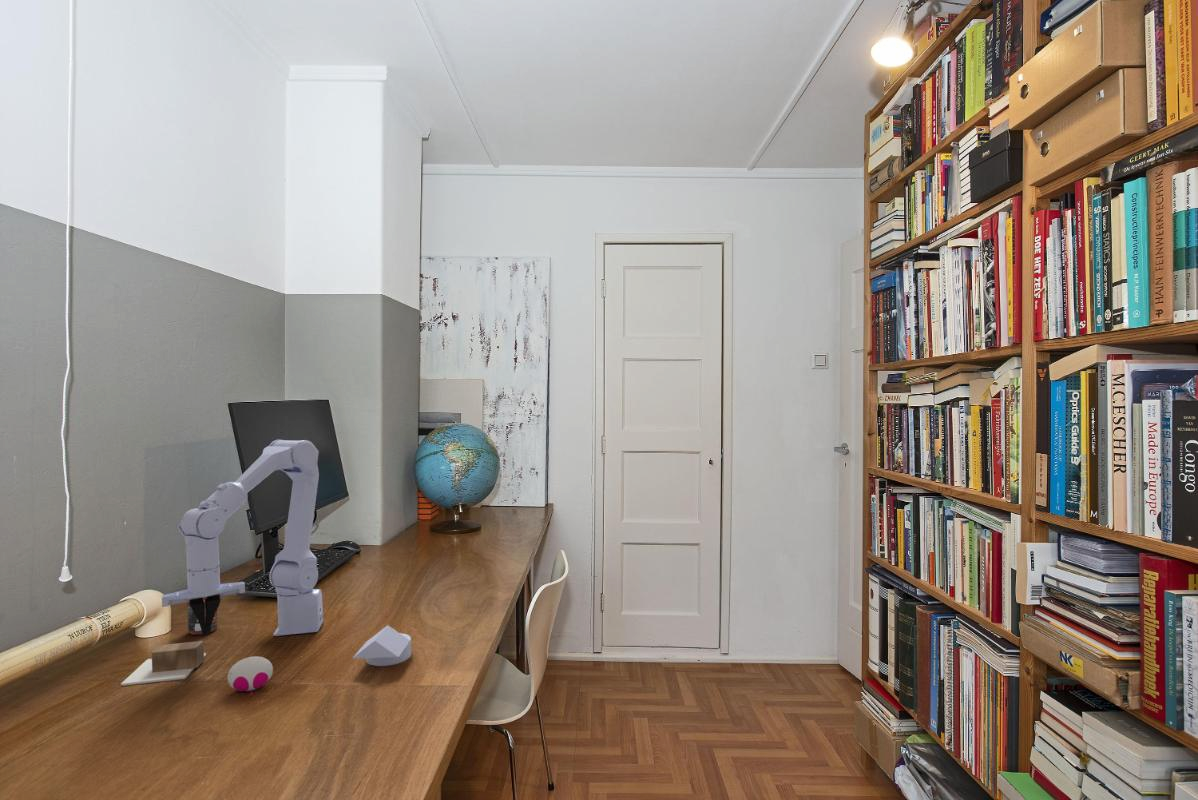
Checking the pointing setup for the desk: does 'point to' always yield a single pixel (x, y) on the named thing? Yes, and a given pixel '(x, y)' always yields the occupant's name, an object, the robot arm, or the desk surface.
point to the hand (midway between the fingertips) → (205, 634)
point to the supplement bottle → (194, 624)
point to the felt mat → (154, 674)
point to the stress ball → (250, 673)
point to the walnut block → (177, 656)
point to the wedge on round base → (386, 648)
